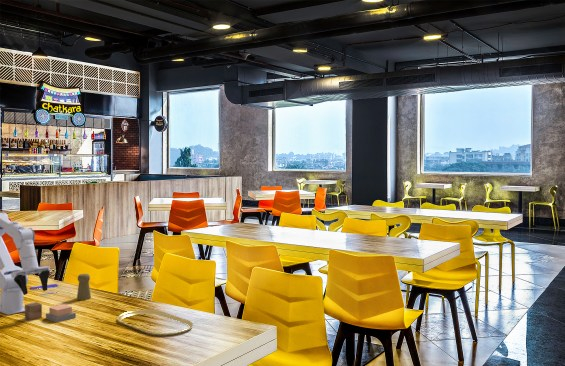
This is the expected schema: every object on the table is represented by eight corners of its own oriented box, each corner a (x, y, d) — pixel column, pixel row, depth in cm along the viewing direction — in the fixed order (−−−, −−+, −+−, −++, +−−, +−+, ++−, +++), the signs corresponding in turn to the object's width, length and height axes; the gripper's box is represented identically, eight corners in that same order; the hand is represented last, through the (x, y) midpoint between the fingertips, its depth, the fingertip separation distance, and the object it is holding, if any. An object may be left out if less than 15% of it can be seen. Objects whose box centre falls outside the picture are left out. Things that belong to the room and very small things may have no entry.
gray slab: (45, 319, 210) (45, 313, 210) (65, 315, 216) (65, 309, 216) (56, 323, 205) (56, 317, 205) (75, 319, 211) (75, 313, 211)
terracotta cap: (49, 313, 210) (49, 307, 210) (64, 310, 214) (63, 304, 214) (57, 316, 206) (57, 310, 206) (71, 313, 211) (71, 306, 210)
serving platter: (149, 311, 223) (149, 307, 223) (203, 329, 200) (203, 325, 200) (108, 320, 209) (108, 316, 209) (160, 341, 186) (160, 336, 186)
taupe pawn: (86, 300, 237) (86, 275, 237) (73, 299, 238) (73, 275, 238) (93, 297, 243) (93, 273, 243) (81, 296, 244) (81, 272, 244)
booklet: (46, 299, 240) (46, 297, 240) (29, 289, 259) (29, 287, 259) (74, 295, 248) (74, 293, 248) (56, 285, 267) (56, 283, 267)
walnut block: (24, 318, 210) (24, 304, 210) (36, 315, 213) (36, 302, 213) (30, 320, 207) (30, 306, 207) (41, 318, 211) (41, 304, 210)
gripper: (13, 258, 203) (21, 293, 200) (51, 253, 214) (58, 286, 211) (6, 263, 207) (13, 297, 204) (43, 257, 218) (50, 290, 216)
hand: (35, 292), depth 208 cm, fingers open, 7 cm apart
